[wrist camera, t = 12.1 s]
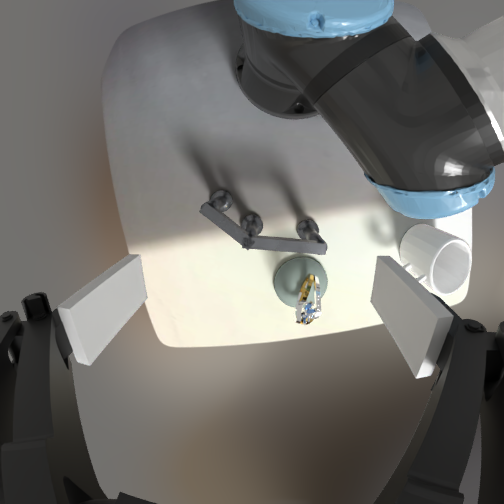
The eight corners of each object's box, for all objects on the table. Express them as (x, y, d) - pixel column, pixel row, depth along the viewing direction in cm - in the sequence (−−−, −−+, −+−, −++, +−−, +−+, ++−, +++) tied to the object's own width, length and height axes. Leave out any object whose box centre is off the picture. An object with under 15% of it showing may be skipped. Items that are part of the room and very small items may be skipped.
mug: (372, 245, 39) (400, 266, 29) (432, 216, 37) (468, 229, 27) (385, 289, 40) (411, 318, 31) (441, 259, 38) (474, 280, 29)
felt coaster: (298, 246, 39) (299, 247, 39) (337, 278, 40) (338, 280, 40) (263, 285, 41) (263, 287, 41) (302, 315, 42) (302, 317, 42)
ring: (302, 310, 41) (309, 339, 34) (283, 304, 41) (286, 332, 34) (321, 270, 39) (333, 293, 32) (301, 263, 39) (309, 285, 32)
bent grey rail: (240, 160, 36) (230, 156, 27) (322, 228, 38) (340, 247, 29) (207, 202, 38) (187, 212, 28) (288, 267, 40) (294, 296, 31)
